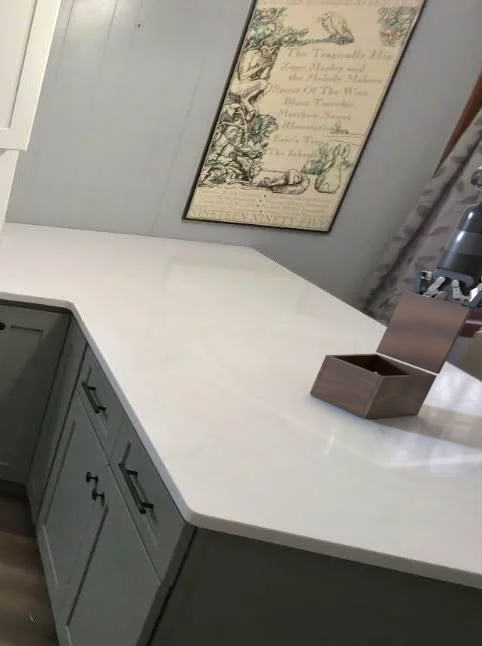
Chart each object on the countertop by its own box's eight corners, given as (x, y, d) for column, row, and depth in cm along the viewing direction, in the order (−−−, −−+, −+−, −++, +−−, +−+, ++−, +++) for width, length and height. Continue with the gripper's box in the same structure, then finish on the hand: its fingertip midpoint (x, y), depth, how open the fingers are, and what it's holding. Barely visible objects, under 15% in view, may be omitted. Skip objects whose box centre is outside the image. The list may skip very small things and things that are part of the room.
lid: (470, 308, 141) (486, 308, 142) (404, 290, 153) (419, 290, 154) (436, 373, 147) (452, 373, 148) (375, 351, 158) (390, 351, 159)
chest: (365, 418, 148) (384, 377, 144) (309, 393, 160) (325, 354, 156) (416, 416, 151) (437, 375, 147) (358, 391, 162) (375, 353, 159)
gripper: (524, 258, 137) (488, 330, 143) (443, 242, 151) (413, 308, 157) (497, 259, 136) (462, 331, 142) (418, 242, 149) (388, 309, 155)
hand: (436, 319), depth 149 cm, fingers closed on lid, 5 cm apart
